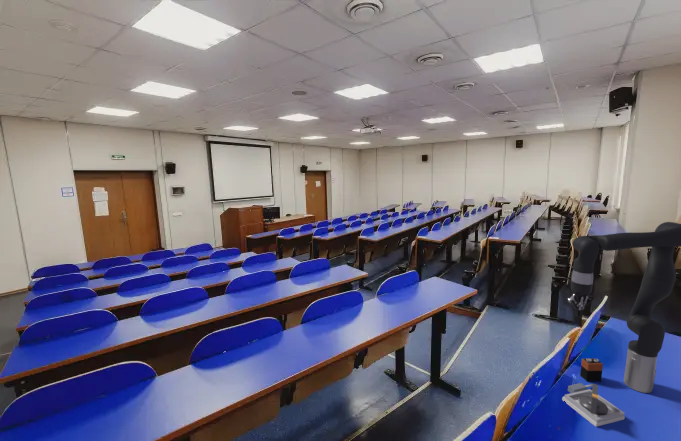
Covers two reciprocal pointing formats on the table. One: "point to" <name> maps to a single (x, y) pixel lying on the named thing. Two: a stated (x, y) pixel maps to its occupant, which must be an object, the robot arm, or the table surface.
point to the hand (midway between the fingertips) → (578, 316)
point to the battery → (591, 369)
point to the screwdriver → (578, 387)
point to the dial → (593, 402)
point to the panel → (596, 420)
